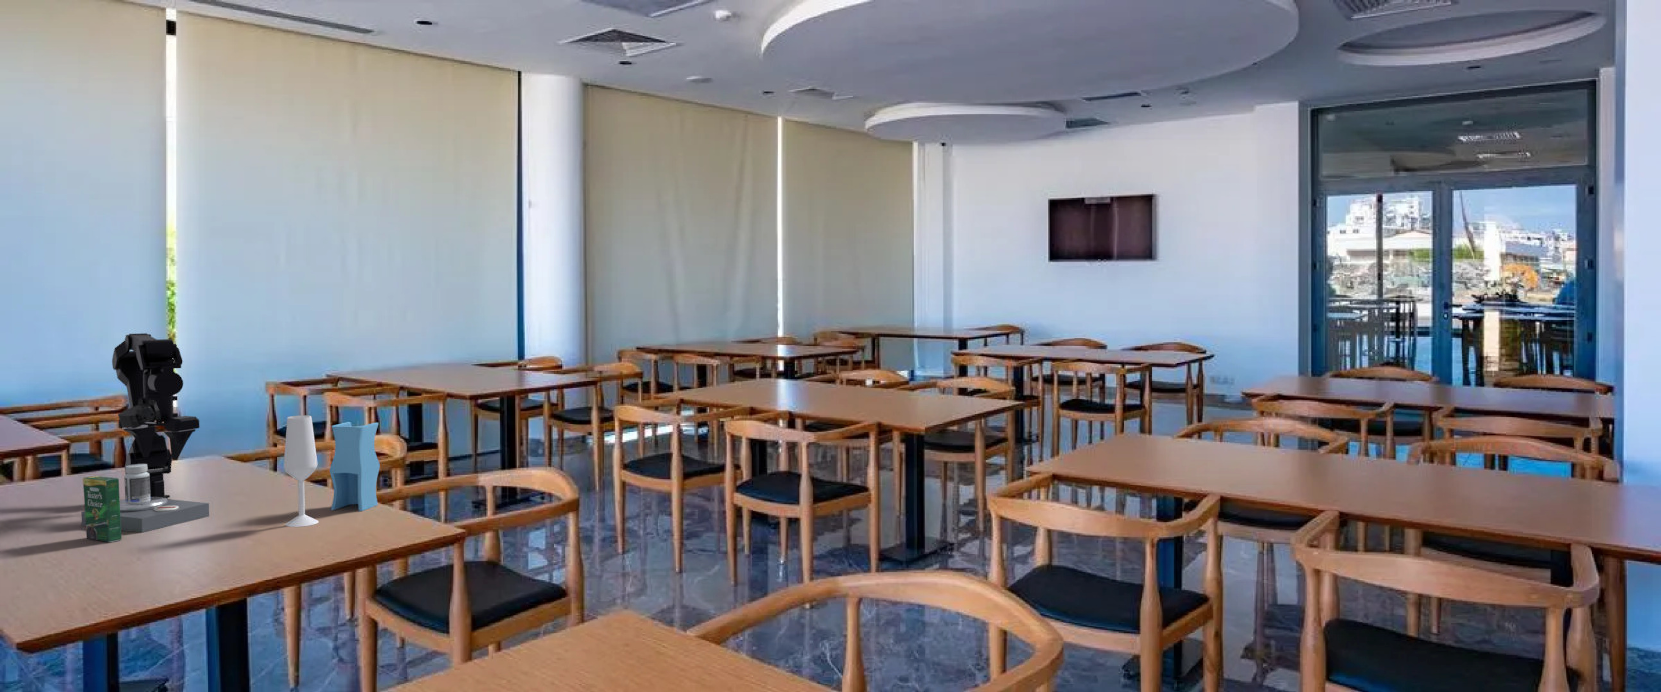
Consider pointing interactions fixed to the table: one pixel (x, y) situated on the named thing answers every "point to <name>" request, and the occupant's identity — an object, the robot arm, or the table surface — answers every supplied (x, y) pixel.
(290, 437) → the champagne flute
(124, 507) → the scale pan
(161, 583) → the table surface
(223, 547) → the table surface
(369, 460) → the blue wavy hollow stand
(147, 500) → the pill bottle
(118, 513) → the coffee box
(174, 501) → the scale
